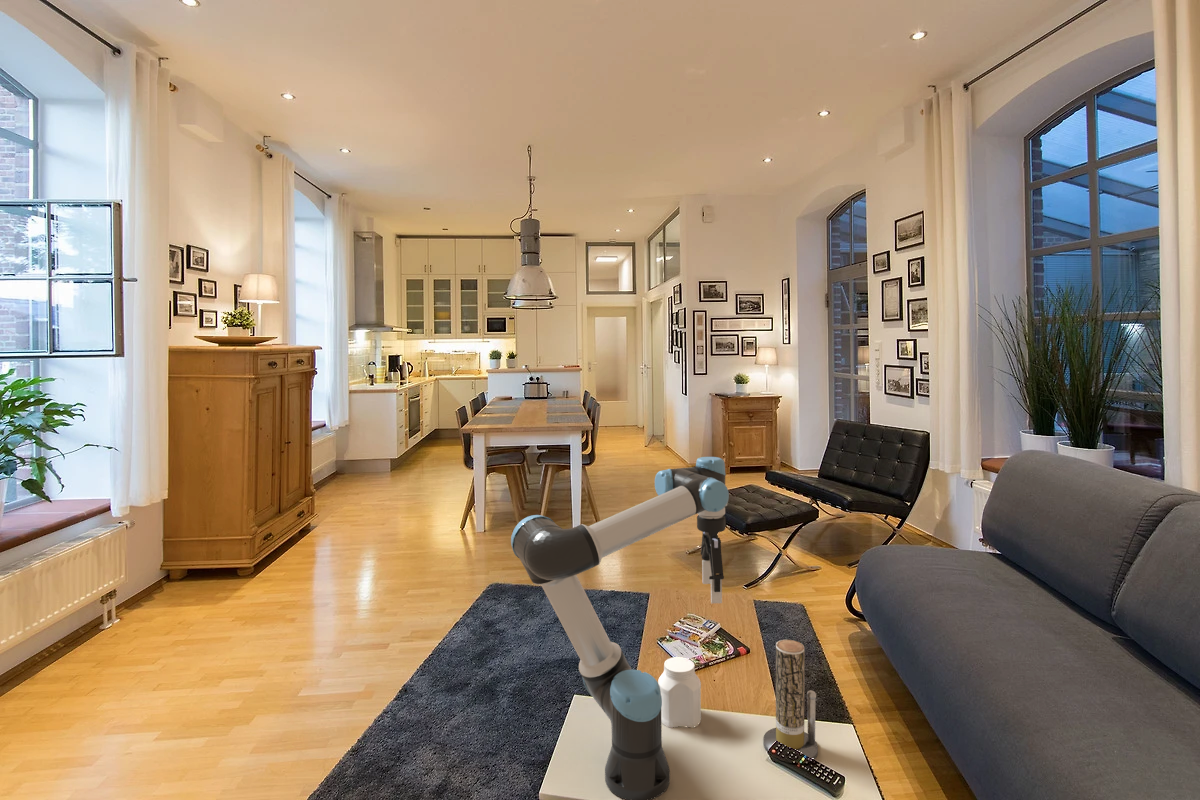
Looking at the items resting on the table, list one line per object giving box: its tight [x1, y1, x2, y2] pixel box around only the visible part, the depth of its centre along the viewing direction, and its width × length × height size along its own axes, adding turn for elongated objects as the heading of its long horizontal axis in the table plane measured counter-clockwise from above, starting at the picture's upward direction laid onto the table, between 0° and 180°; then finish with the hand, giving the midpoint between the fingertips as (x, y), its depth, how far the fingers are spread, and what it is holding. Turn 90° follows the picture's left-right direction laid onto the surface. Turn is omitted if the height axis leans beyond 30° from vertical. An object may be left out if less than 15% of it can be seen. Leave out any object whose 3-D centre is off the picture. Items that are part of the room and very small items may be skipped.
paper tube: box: [775, 639, 806, 749], centre depth 152 cm, size 7×7×25 cm
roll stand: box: [762, 689, 819, 760], centre depth 152 cm, size 13×13×14 cm
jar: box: [657, 656, 702, 729], centre depth 166 cm, size 12×10×15 cm
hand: (711, 592), depth 164 cm, fingers open, 13 cm apart
